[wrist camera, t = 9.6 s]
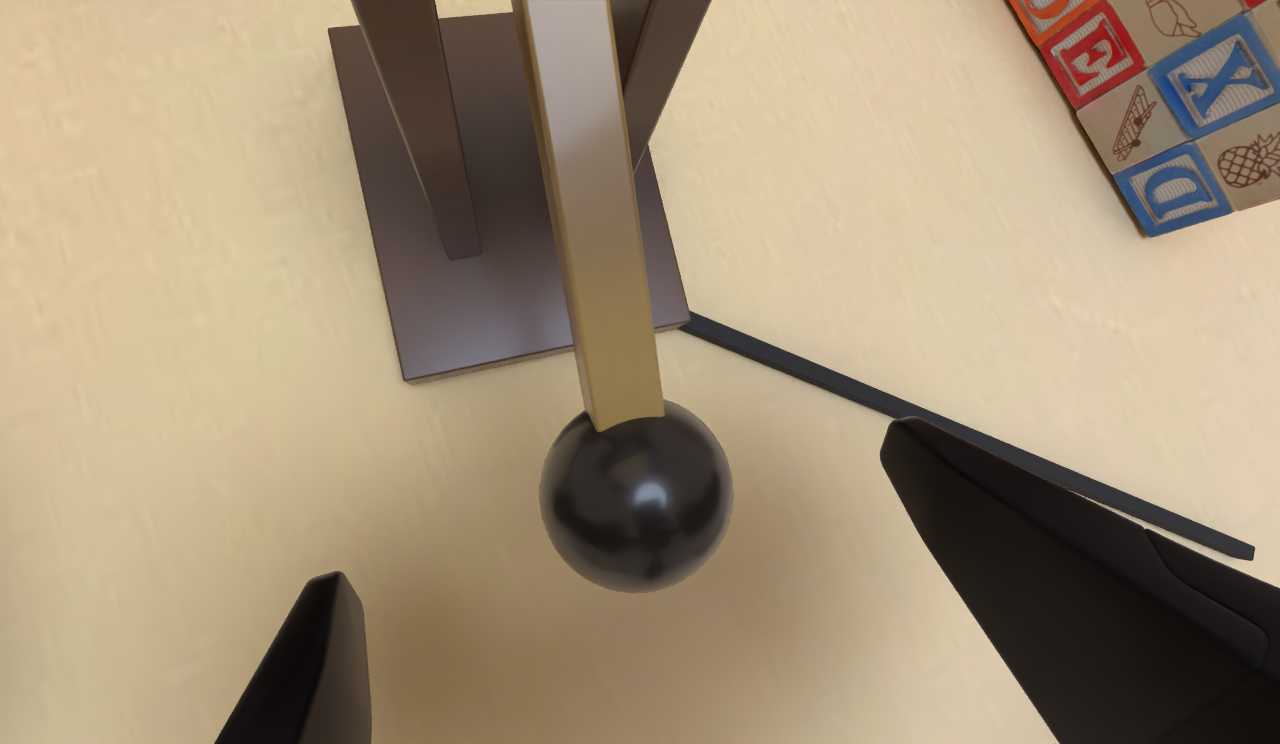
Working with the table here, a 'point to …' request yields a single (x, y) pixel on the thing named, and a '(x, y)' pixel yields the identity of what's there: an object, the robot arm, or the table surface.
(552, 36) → the switch lever
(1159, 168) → the stack of blocks
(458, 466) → the table surface
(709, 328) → the straight black rod
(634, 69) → the switch stand
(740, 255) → the table surface
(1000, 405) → the table surface
